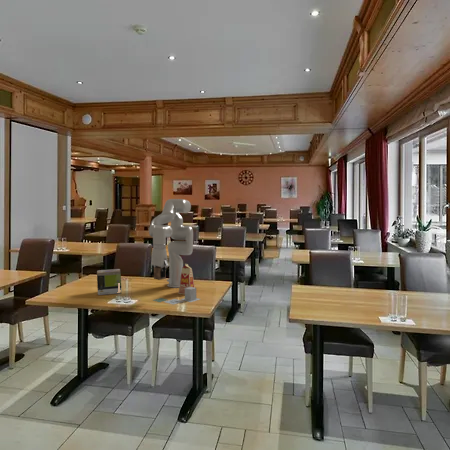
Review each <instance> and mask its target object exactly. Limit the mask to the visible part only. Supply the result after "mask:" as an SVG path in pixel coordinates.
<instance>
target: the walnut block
mask: <svg viewBox="0 0 450 450" xmlns="http://www.w3.org/2000/svg"><path fill="white" fill-rule="evenodd" d="M166 272H167V270H166V271H165V277H163V278H161V267H160V266H159V267H154V268H153V279H154V280H158V281H161V280H167V279H166V278H167V277H166V276H167V275H166V274H167V273H166Z"/></svg>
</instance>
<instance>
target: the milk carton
mask: <svg viewBox="0 0 450 450" xmlns="http://www.w3.org/2000/svg"><path fill="white" fill-rule="evenodd" d="M188 287H194V288H196V287H195V281H194V273H193V269H192V267H191V266H189V264H188V263H184V265H183V268H182V272H181V277H180V287H178V288H179V289H178V292H177V293H178V295H185V288H188Z"/></svg>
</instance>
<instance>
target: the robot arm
mask: <svg viewBox="0 0 450 450" xmlns="http://www.w3.org/2000/svg"><path fill="white" fill-rule="evenodd" d="M191 204H192V203H191V202H190V201H189V200H188V199H183V198H169V199H167V200H166V201H165V203H164V206H163V209H162V212H161V213H160V214H159V215H157V216H155V217H154V218H153V219H152V220H151V221H150V225H149V228H148V229H149V230H148V234H149V236H150V237H152V247H153V248H152V250H151V263H150V264H151V266H152V267H153V269H154V267H159V266H160V267H161V278H163V277H165V271H166V272H167V269H168V267H169V269H168V270H169V277H168V279H166V282H168V283H167V287H168V288H174V289H175V288H177V289H178V288H179V287H180V277H181V272H182V268H183V267H184V260H183V259H182V256H191V255H192V254H193V250H194V230H193V227H192V226H190V225H184V219H183V217H182V215H181V214H188V213H190V211H191V208H192V205H191ZM168 223H170V225H166V224H168ZM164 224H165V225H164ZM166 238H171V239H173V240H174V241H173V240H172V241H170V242H169V243H168V244H167V243H166V242H167V240H166ZM175 240H177V241H175ZM178 240H179V241H178ZM180 240H183V241H180ZM184 240H185V241H184ZM166 247H167V248H166ZM167 251H168V253H167ZM168 259H169V263H168Z"/></svg>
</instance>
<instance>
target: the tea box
mask: <svg viewBox="0 0 450 450" xmlns="http://www.w3.org/2000/svg"><path fill="white" fill-rule="evenodd" d="M121 273H122V272H121V269H120V268H115V269H114V268H113V269H101V270H100V269H99V270H97V271H96V285H97V286H96V287H97V295H98V296H102V295H113V294H114V295H115V294H116V295H117V294H118V293H117V292H118V283H120V290H121V292H122V275H121Z"/></svg>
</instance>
